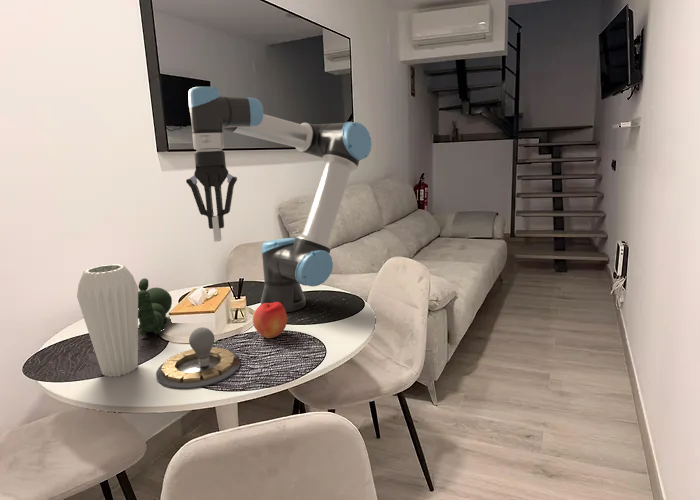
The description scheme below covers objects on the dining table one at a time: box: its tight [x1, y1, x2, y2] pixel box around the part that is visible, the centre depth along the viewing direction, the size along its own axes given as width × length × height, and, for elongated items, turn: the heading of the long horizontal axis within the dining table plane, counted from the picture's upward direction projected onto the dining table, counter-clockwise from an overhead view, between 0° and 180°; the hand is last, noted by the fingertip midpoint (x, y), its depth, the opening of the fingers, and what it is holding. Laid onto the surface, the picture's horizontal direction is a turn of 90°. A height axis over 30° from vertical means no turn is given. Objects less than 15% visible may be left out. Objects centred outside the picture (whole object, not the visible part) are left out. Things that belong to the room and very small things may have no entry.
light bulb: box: [188, 327, 216, 367], centre depth 118 cm, size 6×6×10 cm
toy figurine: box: [138, 277, 173, 336], centre depth 145 cm, size 9×19×25 cm
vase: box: [76, 263, 139, 378], centre depth 117 cm, size 13×13×26 cm
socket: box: [155, 346, 241, 390], centre depth 118 cm, size 20×20×2 cm
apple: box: [252, 302, 288, 339], centre depth 136 cm, size 10×10×10 cm
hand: (217, 240), depth 127 cm, fingers closed
